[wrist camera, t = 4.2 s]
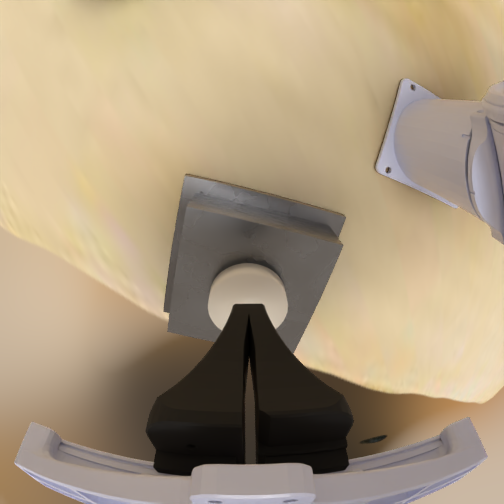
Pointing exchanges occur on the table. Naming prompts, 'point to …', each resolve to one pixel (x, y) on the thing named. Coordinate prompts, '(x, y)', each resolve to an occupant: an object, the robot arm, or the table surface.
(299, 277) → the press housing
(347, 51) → the table surface
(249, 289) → the plunger
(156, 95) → the table surface
